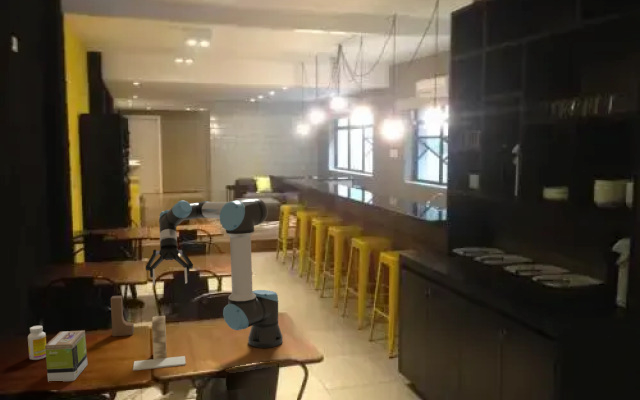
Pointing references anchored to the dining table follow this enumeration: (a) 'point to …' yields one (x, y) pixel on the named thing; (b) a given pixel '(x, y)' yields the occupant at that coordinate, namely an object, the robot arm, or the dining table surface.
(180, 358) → the mat
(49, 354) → the tea box
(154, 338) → the block
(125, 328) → the wooden block
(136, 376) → the dining table surface
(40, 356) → the supplement bottle
